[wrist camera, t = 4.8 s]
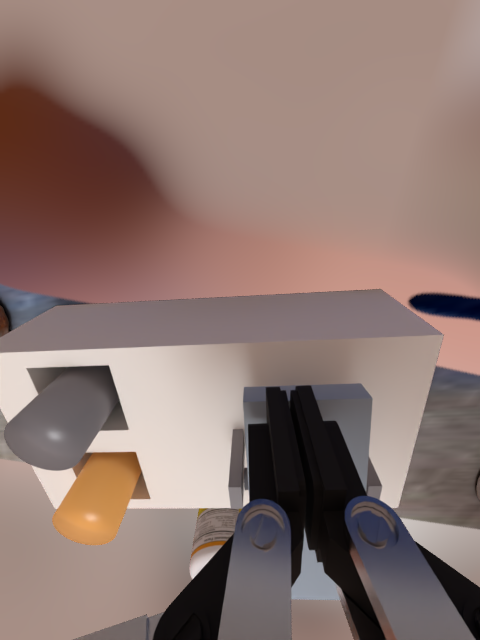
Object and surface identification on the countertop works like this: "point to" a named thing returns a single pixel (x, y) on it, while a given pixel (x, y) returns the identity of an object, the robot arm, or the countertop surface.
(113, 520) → the button orange
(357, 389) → the rocker
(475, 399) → the countertop surface
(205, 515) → the supplement bottle
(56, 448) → the button charcoal
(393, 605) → the robot arm
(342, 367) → the panel
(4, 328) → the sauce bottle
